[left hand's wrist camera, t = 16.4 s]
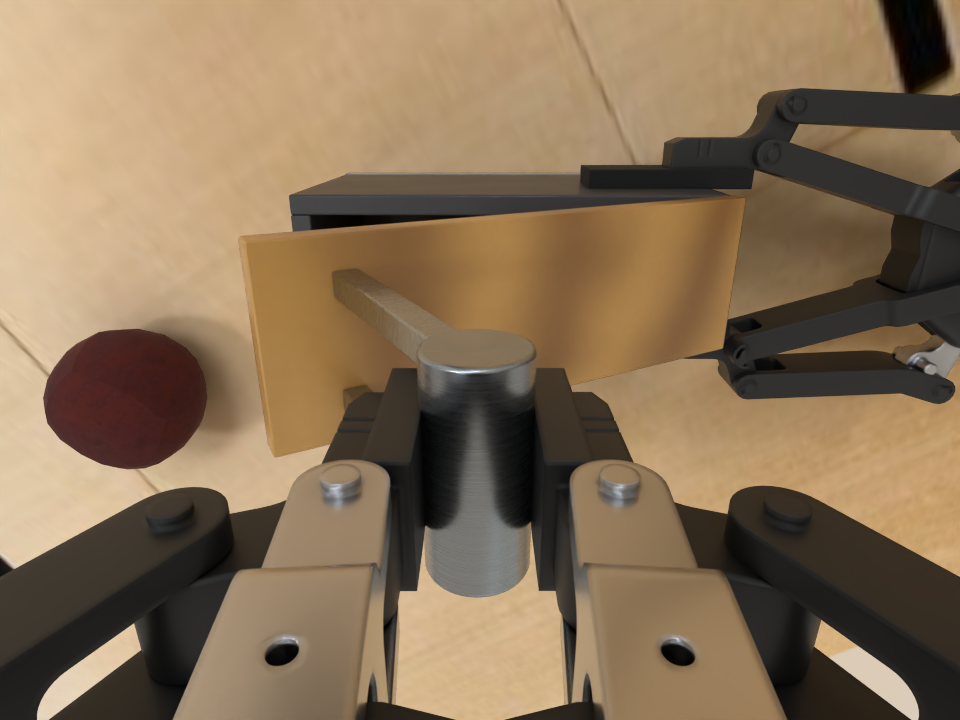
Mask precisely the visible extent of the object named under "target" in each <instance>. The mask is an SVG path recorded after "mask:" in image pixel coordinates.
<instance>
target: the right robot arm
mask: <svg viewBox="0 0 960 720" xmlns="http://www.w3.org/2000/svg"><path fill="white" fill-rule="evenodd" d="M799 124H815V125H835V126H855V127H875V128H894V129H914V130H950V131H951V134H952V135H953V136H955V138H956V140H957V141H958V142H959V143H960V93H959V94H955V95H952V96H945V95H925V94H905V93H885V92H865V91H845V90H825V89H805V88H800V89H789V90H780V91H774V92H768V93H767V94H765V95H763V96H762V98H761V99H760V100H759V102H758V105H757V115H756V117H755V120H754V122H753V124H752V125H751V127H750V128H749V129H748V130H747V132H745V133H744V134H742V135H740V136H738V137H677V138H674V139H672V140H669V141H667V142H664V152H663V162H662V165H581V175H580V183H582V184H583V185H584V186H586V187H587V188H589V189H751V188H752V182H753V175H754V170H757V171H760V172H763V173H766V174H769V175H772V176H776V177H779V178H782V179H785V180H788V181H791V182H794V183H797V184H801V185H804V186H807V187H810V188H813V189H816V190H819V191H822V192H825V193H829V194H832V195H835V196H838V197H841V198H844V199H847V200H850V201H853V202H857V203H860V204H863V205H866V206H869V207H871V208H873V209H876V210H880V211H883V212H886V213H889V214H892V215H895V216H894V220H893V225H892V229H891V245H892V247H891V250H890V252H889V254H888V256H887V258H886V260H885V262H884V264H883V267H882V271H881V274H880V275H877V276H873V277H869V278H865V279H862V280H859V281H856V282H855V283H854V285H853V286H851V287H848V288H844V289H840V290H836V291H833V292H829V293H825V294H821V295H818V296H814V297H810V298H807V299H803V300H799V301H795V302H792V303H788V304H784V305H780V306H777V307H773V308H769V309H766V310H762V311H758V312H754V313H751V314H747V315H743V316H739V317H736V318H732V319H728V320H727V326H726V332H725V339H724V345H723V348H722V349H719V350H715V351H710V352H706V353H702V354H698V355H694V356H690V357H686V358H684V359H718V363H719V366H718V372H719V374H720V375H721V377H722V378H723V379H724V380H725V381H726V382H727V383H728V385H729V386H730V387H731V388H732V389H733V390H734V391H735V392H736V393H737V395H738V396H739V397H741V398H743V399H766V398H792V397H818V396H844V395H870V394H896V393H902V394H905V395H908V396H912V397H915V398H918V399H921V400H925V401H928V402H931V403H936V404H941V403H945V402H946V401H948V400H950V398H951V397H952V396H953V395H954V392H955V385H954V384H953V382H951V381H949V380H947V379H946V376H947V375H948V373H949V371H950V370H951V368H952V367H953V365H954V364H955V362H956V360H957V359H958V357H959V356H960V169H959V170H957V171H955V172H954V173H952V174H951V175H949V176H947V177H946V178H944V179H943V180H941V181H939V182H938V183H936V184H935V185H933V186H931V187H930V188H929V187H925V186H921V185H918V184H915V183H912V182H909V181H905V180H902V179H899V178H896V177H893V176H890V175H887V174H884V173H881V172H878V171H875V170H872V169H869V168H866V167H863V166H860V165H856V164H853V163H850V162H847V161H844V160H841V159H838V158H835V157H832V156H829V155H826V154H823V153H820V152H817V151H814V150H811V149H808V148H804V147H801V146H798V145H795V144H792V143H789V142H790V140H791V138H792V136H793V134H794V132H795V130H796V128H797V126H798V125H799ZM914 323H918V324H919V325H920V326H921V327H923V328H924V329H925V330H926V331H927V332H929V333H930V334H931V335H932V336H931V338H930V339H929V340H928V341H927V342H925V343H923V344H921V345H908V346H905V347H903V346H898V347H896V348H895V349H894V350H893V354H890V353H886V352H881V351H844V352H820V353H796V354H777V353H781V352H785V351H789V350H793V349H797V348H801V347H804V346H808V345H812V344H816V343H820V342H824V341H828V340H832V339H835V338H839V337H843V336H847V335H851V334H855V333H859V332H862V331H866V330H870V329H874V328H878V327H882V326H895V327H899V326H907V325H911V324H914Z"/></svg>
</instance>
